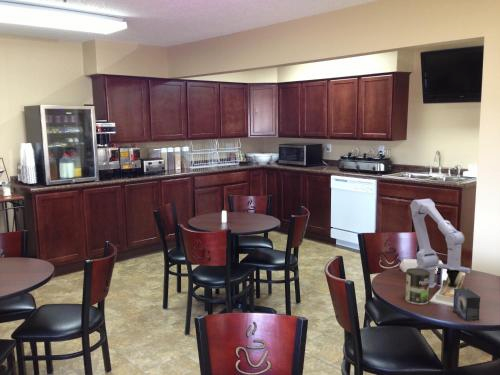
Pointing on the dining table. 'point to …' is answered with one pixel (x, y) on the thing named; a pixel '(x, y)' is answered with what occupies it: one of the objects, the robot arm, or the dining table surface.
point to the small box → (466, 304)
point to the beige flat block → (444, 297)
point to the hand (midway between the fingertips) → (452, 285)
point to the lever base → (433, 300)
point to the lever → (458, 282)
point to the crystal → (412, 264)
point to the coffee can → (417, 286)
